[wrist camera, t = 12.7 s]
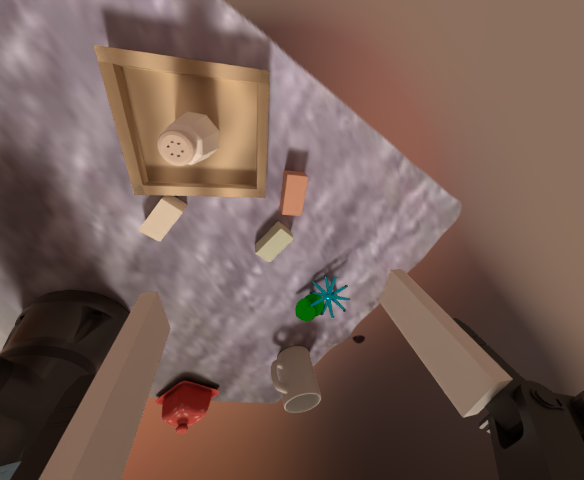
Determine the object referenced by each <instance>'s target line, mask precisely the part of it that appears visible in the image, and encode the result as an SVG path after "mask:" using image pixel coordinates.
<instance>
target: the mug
mask: <svg viewBox="0 0 584 480" xmlns="http://www.w3.org/2000/svg"><path fill="white" fill-rule="evenodd" d="M277 367H278V370H279V376H280V381H279V380H278V377H277V371H276V368H277ZM271 376H272V381H273V384H274V387H275V388H276V389H277V390H278V391H280V392H282V397H283V404H284V408H285V410H286V411H288V412H291V413H299V412H304V411H307V410H309V409H311V408H313V407H315V406H316V405H317V404H318V403H319V402H320V400H321V394H320V391H319V387H318V384H317V381H316V377H315V373H314V369H313V366H312V362H311V358H310V354H309V351H308V350H307V349H306V348H305V347H303V346H292V347H289V348H286V349H284V350H283V351H281V352H280V353H279V355H278V357H277V360H275V361H274V362H273V363H272V366H271Z"/></svg>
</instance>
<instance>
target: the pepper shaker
mask: <svg viewBox="0 0 584 480" xmlns="http://www.w3.org/2000/svg"><path fill="white" fill-rule="evenodd" d="M157 147H158V150H159V153H160V155H161V156H162V157H163V158H164V159H165V160H166V161H167V162H169V163H170V164H173V165H176V166H184V165H186V164H189V165H193V164H195V163H198V162H200V161H202V160H204V159H206V158H208V157H209V156H210V155H211V154H213V153H214V152H215V151H216V150H217V149H218V148H219V130H218V129H217V127H216V126H215V125H214V124H213V122H212V121H211V120H210V119H209V117H208V116H207V115H205V114H199V113H194V112H188V111H187V112H186V113H185V114H183V115H182V116H181V117H179V118H178V119H176V120H175V121H174V122H173V123H172V124H170V125H169V126H168V127H167V128H166V129H165V130H164V131H163V132H162V133H161V135H160V136H159V138H158V141H157Z"/></svg>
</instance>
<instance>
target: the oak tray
mask: <svg viewBox="0 0 584 480" xmlns="http://www.w3.org/2000/svg"><path fill="white" fill-rule="evenodd" d="M94 49H95V53H96V56H97V60H98V64H99V67H100V71H101V75H102V78H103V82H104V86H105V89H106V93H107V97H108V100H109V104H110V107H111V111H112V115H113V118H114V122H115V126H116V129H117V133H118V137H119V140H120V144H121V148H122V151H123V155H124V159H125V162H126V166H127V170H128V173H129V177H130V180H131V184H132V188H133V191H134V195H169V196H214V197H259V198H265V196H266V165H267V134H268V103H269V71H268V70H261V69H254V68H247V67H241V66H234V65H227V64H220V63H213V62H207V61H200V60H193V59H186V58H179V57H172V56H166V55H159V54H152V53H145V52H138V51H132V50H125V49H118V48H111V47H104V46H97V45H94ZM187 111H188V112H194V113H199V114H205V115H207V116H208V117H209V119H210V120H211V121H212V122H213V124H214V125H215V126H216V127H217V129H218V130H219V148H218V149H217V150H216V151H215V152H214V153H213V154H211V155H210V156H209V157H208V158H206V159H204V160H202V161H200V162H198V163H195V164H193V165H189V164H186V165H184V166H176V165H173V164H170V163H169V162H167V161H166V160H165V159H164V158H163V157H162V156H161V155H160V153H159V150H158V147H157V141H158V138H159V136H160V135H161V133H162V132H163V131H164V130H165V129H166V128H167V127H168V126H169V125H170V124H172V123H173V122H174V121H175V120H176V119H178V118H179V117H181V116H182V115H183V114H185V113H186V112H187Z"/></svg>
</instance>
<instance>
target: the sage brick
mask: <svg viewBox="0 0 584 480" xmlns="http://www.w3.org/2000/svg"><path fill="white" fill-rule="evenodd" d="M293 239H294V238H293V235H292V233H291V231H290V230H289V229H288V228H287V227H285V226H284V225H283V224H282V223H280V222H279V221H278V222H277V223H276V224H275V225H274V226H273V227H272V228H271V229H270V230H269V231H268V232H267V233H266V234H265V235H264V236H263V237H262V238H261V239H260V240H259V241H258V242H257V243H256V244H255V252H256V254H257V255H258V256H260V257H261V258H263V259H264V260H266V261H267V262H269V263H270V262H271V261H272V260H273V259H274V258H275V257H276V256H277V255H278V254H279V253H280V252H281V251H282V250H283V249H284V248H285V247H286V246H287V245H288V244H289V243H290V242H291V241H292V240H293Z"/></svg>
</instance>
